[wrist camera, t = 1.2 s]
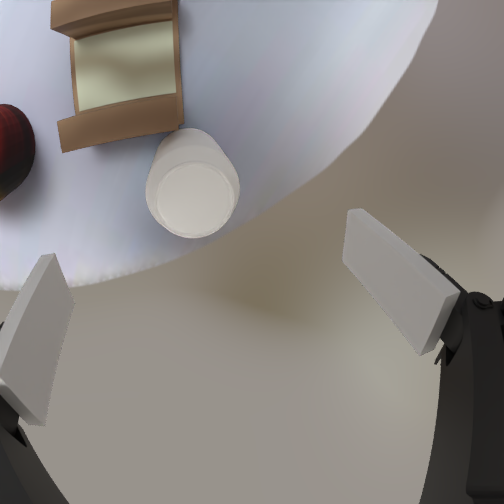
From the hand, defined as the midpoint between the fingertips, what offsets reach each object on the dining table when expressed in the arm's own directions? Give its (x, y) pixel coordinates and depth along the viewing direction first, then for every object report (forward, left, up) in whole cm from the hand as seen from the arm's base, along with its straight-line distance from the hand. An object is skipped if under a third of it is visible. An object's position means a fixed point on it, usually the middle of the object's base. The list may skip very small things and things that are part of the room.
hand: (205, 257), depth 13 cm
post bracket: (-10, -5, -18) cm, 21 cm away
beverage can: (0, 0, -18) cm, 18 cm away
